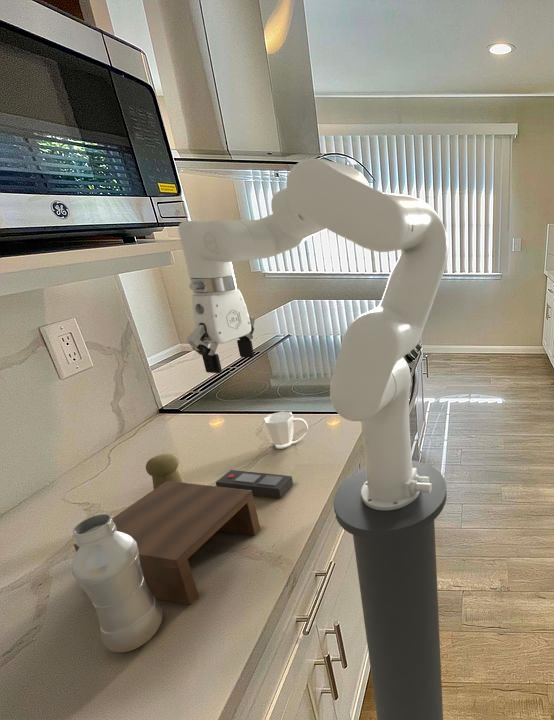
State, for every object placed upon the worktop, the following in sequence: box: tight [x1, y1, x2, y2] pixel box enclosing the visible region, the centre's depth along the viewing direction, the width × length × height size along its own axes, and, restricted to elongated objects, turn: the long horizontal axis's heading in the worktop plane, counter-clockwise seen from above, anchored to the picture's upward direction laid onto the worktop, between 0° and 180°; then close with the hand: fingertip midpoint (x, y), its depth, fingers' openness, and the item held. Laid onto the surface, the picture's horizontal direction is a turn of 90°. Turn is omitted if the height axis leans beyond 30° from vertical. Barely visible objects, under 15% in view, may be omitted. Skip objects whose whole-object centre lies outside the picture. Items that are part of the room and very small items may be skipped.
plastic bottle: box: [71, 513, 163, 653], centre depth 53 cm, size 6×7×20 cm
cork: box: [145, 452, 186, 490], centre depth 81 cm, size 6×6×11 cm
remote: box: [215, 469, 294, 499], centre depth 87 cm, size 15×5×3 cm, turn 81°
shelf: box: [73, 481, 261, 606], centre depth 68 cm, size 18×16×9 cm
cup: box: [263, 410, 309, 450], centre depth 103 cm, size 7×10×8 cm
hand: (231, 364), depth 86 cm, fingers open, 9 cm apart
